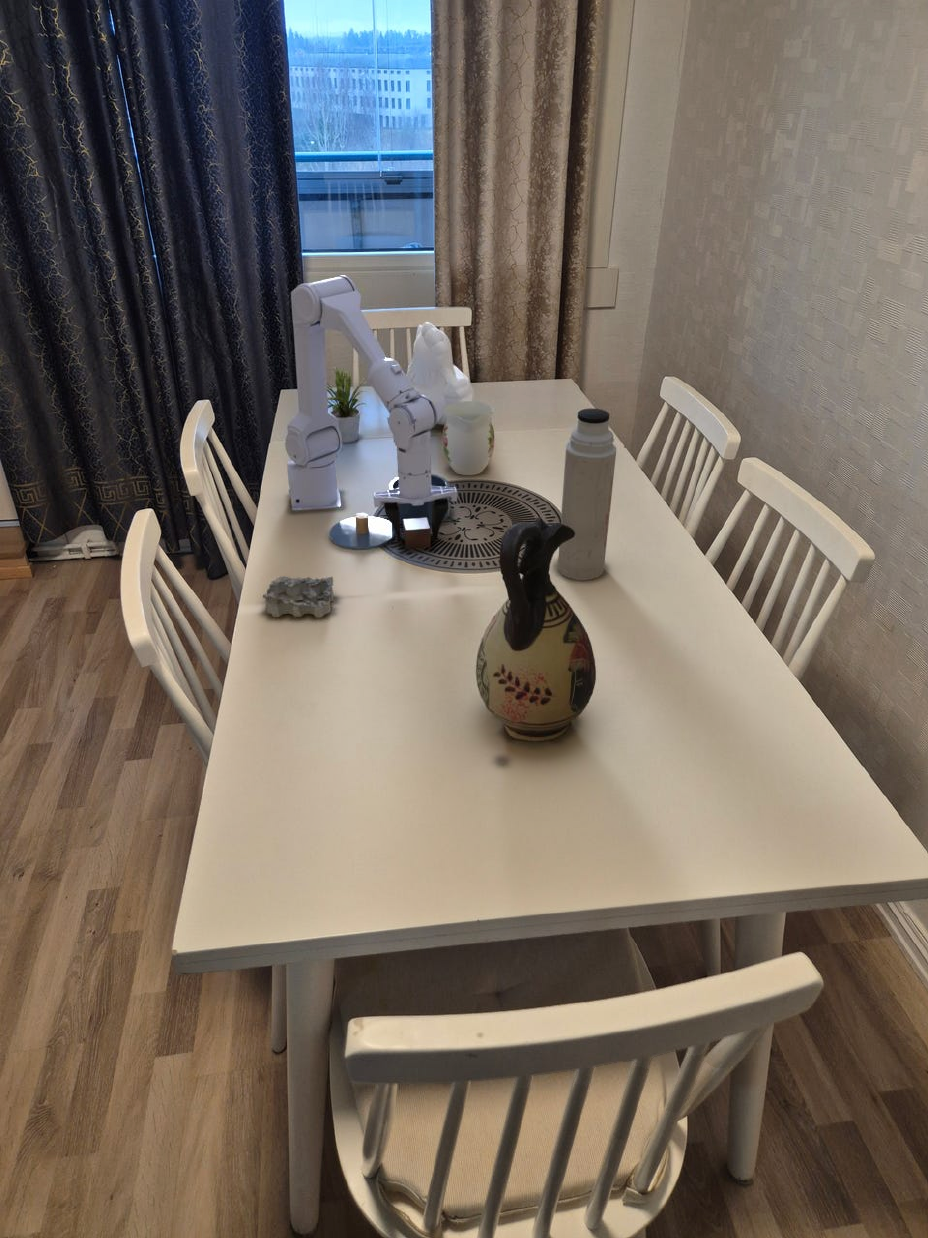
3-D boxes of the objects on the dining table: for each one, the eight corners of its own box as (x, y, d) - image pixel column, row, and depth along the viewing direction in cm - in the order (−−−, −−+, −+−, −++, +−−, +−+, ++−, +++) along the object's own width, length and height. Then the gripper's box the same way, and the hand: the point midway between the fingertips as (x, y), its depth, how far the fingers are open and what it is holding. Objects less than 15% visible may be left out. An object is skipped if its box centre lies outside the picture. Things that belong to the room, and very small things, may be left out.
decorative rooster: (397, 381, 209) (389, 317, 185) (457, 365, 211) (457, 299, 187) (426, 468, 202) (422, 413, 178) (489, 450, 204) (493, 393, 180)
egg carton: (262, 618, 134) (258, 596, 131) (274, 592, 140) (270, 571, 138) (329, 619, 133) (326, 598, 131) (337, 594, 139) (335, 573, 137)
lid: (331, 555, 150) (328, 533, 148) (328, 524, 160) (326, 503, 158) (399, 549, 152) (398, 528, 149) (392, 519, 162) (391, 498, 159)
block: (406, 552, 151) (405, 530, 149) (403, 540, 155) (402, 519, 152) (430, 550, 152) (430, 528, 149) (427, 538, 155) (427, 517, 153)
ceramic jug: (519, 669, 122) (528, 478, 105) (612, 713, 114) (637, 514, 97) (443, 730, 111) (440, 527, 95) (539, 783, 103) (554, 572, 86)
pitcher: (490, 450, 190) (491, 390, 182) (496, 484, 175) (497, 420, 167) (442, 451, 190) (441, 391, 182) (443, 484, 175) (442, 421, 167)
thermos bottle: (605, 559, 149) (621, 405, 133) (602, 582, 142) (618, 423, 127) (560, 555, 150) (570, 402, 134) (555, 577, 144) (565, 419, 128)
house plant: (305, 431, 200) (297, 362, 191) (360, 422, 205) (355, 354, 196) (323, 452, 189) (315, 380, 180) (381, 442, 194) (377, 372, 185)
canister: (393, 530, 158) (392, 500, 154) (388, 504, 167) (386, 474, 164) (453, 526, 159) (453, 495, 156) (445, 500, 169) (444, 470, 165)
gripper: (374, 481, 141) (378, 552, 148) (459, 475, 143) (460, 545, 150) (370, 464, 146) (375, 533, 154) (453, 458, 148) (454, 527, 156)
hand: (417, 538), depth 152 cm, fingers open, 6 cm apart
